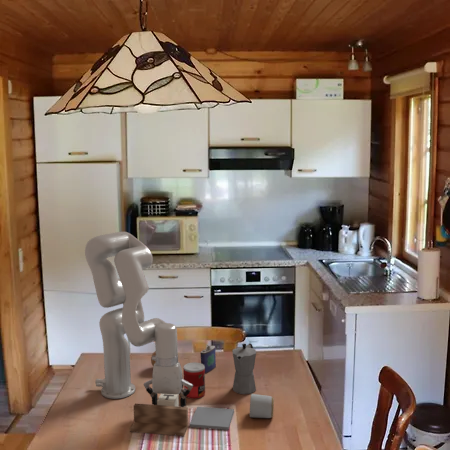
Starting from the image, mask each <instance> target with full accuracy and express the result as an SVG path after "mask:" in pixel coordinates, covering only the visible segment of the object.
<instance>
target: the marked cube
mask: <svg viewBox="0 0 450 450" xmlns="http://www.w3.org/2000/svg"><path fill="white" fill-rule="evenodd" d="M179 396H180V395H179V394H159V396H158V400H157V405H162V406H176V407H180V400H179V398H180V397H179Z"/></svg>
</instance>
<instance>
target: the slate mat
mask: <svg viewBox="0 0 450 450" xmlns="http://www.w3.org/2000/svg"><path fill="white" fill-rule="evenodd" d="M234 413H235V409H233V408H222V407H208V406H207V407H206V406H197V407H196V408H195V411H194V414H193V416H192V418H191V420H190V421H189V428H198V427H199V428H198V429H209V428H211V429H213V430H224V431H228V430H229V429H230V426H231V423H232V420H233V416H234ZM200 427H201V428H200ZM229 431H230V430H229Z"/></svg>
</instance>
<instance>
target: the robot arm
mask: <svg viewBox="0 0 450 450" xmlns="http://www.w3.org/2000/svg"><path fill="white" fill-rule="evenodd" d="M84 256H85V259H86V262H87V265H88V267H89V269H90V271H91V275H92V279H93V284H94V285H93V286H94V288H95V294H96V297H97V300H98V303H99V305H100V306H101V307H102V308H103V309H104V308H107V309H108V308H113V307H116V306H120V305H122V307H120V308H116V309H113V310H111V311H107V312H106V313H104V314H103V315H102V316H101V318H100V320H99V322H98V323H99V329H100V334H101V338H102V346H103V347H102V348H103V364H104V367H103V368H104V378H103V379H102V378H95V381H94V382H95V387H101V393H100V394H101V395H102V396H103V397H104V398H106V399H113V400H117V399H118V400H119V399H123V398H128V397H129V396H131V395H133V394H134V393H135V392H136V385H135V384H134V383H132V381H131V380H132V379H131V355H130V353H131V351H130V344H131V345H132V346H134V347H138V348H139V347H143V346H145V345H148V344H150V343H152V342H154V343H155V345H154V347H155V351H156V356H152V355H151V357H152V360H155V361H156V363H155V364H154V367H153V366H152V367H153V368H152V369H153V370H152V376H151V377H152V378H151V379H149V380H146V381H145V382H144V383H143V387H144V389H145V391H146V393H148V395H149V396H150V397H151V405H157V400H158V398H159V396H158V394H159V395H161V394H178V396H180V397H179V398H180V400H179V407H187V397H186V396H187V395H188V394H189V393H190V391H191V389H192V387H193V385H192V384H191V383H189V382H187V381H185V380H184V374H183V371H182V369H183V368H182V366H181V362H180V361H179V350H178V349H179V348H178V347H179V346H178V329H177V326H176V325H175V324H174V323H169V322H166V321H164V320H163V319H161V318H158V317H155V318H151V319H148V320H145V312H144V308H143V304H142V303H143V302H142V298H143V297H144V296H145V295H146V294H147V293H148V292H149V290H150V287H149V284H148V281H147V279H146V276H145V273H144V270H145V269H148V268H149V267H151V266H152V264H153V261H154V258H153V254H152V252H151V250H150V249H149V247H148V246H146V244H144V243H143V242H142V241H141V240H139V239H138V238H136V237H135V236H134V235H133V234H131V233H130V232H127V231H118V232H112V233H111V232H110V233H106V234H104V233H103V234H100V235H96V236H94V237H92V238H90V239H89V240H88V241H87V243H86V245H85V247H84ZM112 257H114V261H113V262H114V265H113V263H112V262H111V261H110V260H109V259H108V258H112ZM116 271H117V272H116ZM117 274H118V275H117ZM118 277H119V278H118ZM125 335H126V337H127V339H126V338H125ZM129 343H130V344H129ZM150 385H151V386H150ZM184 386H186V387H187V388H188V389H187V390H186V391H185V390H184Z"/></svg>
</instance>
